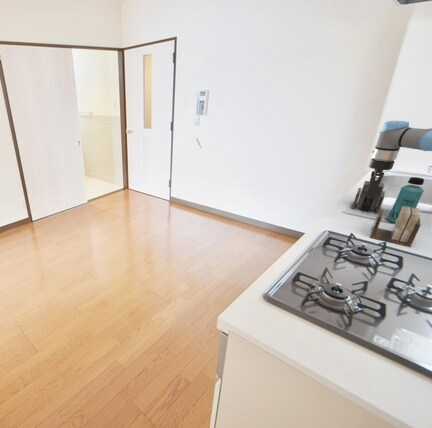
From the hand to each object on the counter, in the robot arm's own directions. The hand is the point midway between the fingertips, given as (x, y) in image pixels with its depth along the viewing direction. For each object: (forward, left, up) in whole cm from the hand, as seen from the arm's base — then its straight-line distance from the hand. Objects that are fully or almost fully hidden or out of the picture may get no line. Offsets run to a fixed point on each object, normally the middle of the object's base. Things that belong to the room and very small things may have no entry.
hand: (365, 208), depth 127 cm
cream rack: (-9, +24, -1) cm, 26 cm away
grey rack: (0, 0, -1) cm, 1 cm away
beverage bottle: (-11, +9, -1) cm, 14 cm away
